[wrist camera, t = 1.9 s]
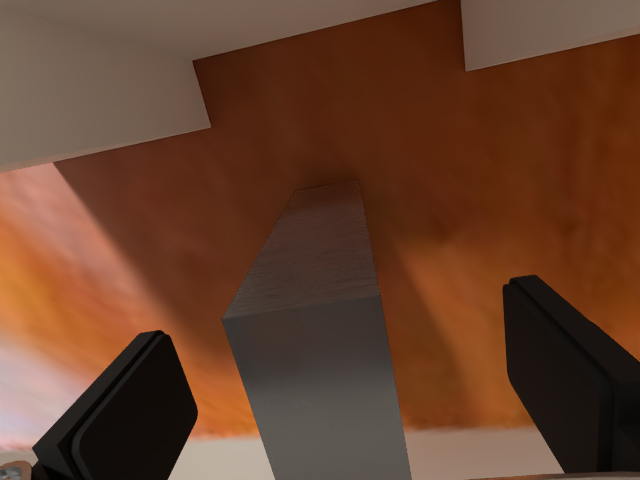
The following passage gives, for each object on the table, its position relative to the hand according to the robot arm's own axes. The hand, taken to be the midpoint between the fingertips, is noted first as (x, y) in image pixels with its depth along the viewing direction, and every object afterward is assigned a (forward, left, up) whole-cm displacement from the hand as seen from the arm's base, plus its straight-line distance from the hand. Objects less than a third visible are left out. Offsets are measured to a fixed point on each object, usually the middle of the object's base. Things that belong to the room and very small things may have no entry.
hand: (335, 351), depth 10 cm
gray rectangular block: (-1, 0, -8) cm, 8 cm away
